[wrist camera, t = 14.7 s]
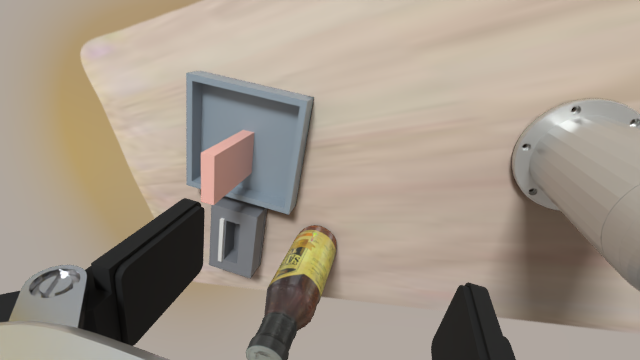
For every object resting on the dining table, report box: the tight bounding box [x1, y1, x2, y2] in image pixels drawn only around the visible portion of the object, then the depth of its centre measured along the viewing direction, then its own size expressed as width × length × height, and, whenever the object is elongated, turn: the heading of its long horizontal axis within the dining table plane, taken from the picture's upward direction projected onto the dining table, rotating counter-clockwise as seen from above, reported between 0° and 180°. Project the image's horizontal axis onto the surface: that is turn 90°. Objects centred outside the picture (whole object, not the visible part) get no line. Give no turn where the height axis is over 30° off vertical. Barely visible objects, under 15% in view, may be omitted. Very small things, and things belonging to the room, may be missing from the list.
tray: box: [186, 71, 314, 215], centre depth 43 cm, size 16×16×3 cm
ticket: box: [201, 130, 254, 205], centre depth 40 cm, size 2×6×10 cm, turn 171°
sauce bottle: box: [246, 225, 336, 360], centre depth 39 cm, size 6×6×20 cm
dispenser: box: [209, 196, 267, 279], centre depth 49 cm, size 7×11×4 cm, turn 169°
